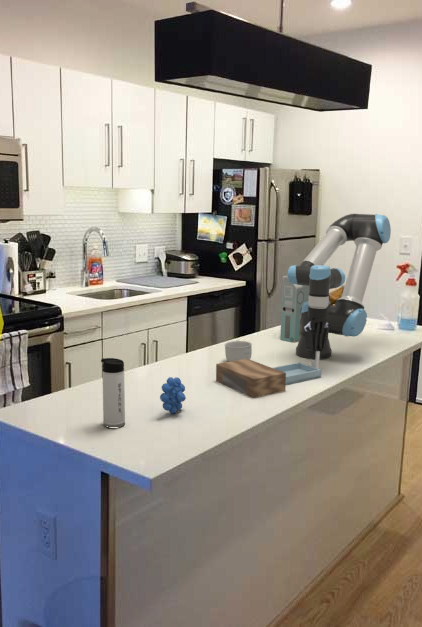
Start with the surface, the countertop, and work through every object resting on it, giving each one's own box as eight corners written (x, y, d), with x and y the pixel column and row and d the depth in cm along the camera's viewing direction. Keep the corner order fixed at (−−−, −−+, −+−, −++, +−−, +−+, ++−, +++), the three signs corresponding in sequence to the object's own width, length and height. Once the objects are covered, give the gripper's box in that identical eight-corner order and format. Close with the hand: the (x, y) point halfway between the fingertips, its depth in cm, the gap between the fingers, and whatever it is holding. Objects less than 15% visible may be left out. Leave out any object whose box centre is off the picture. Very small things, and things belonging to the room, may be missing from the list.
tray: (299, 369, 242) (299, 362, 242) (321, 377, 233) (321, 369, 232) (259, 377, 231) (259, 369, 231) (280, 386, 221) (280, 378, 221)
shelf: (246, 375, 234) (246, 358, 233) (285, 390, 216) (285, 373, 215) (216, 381, 226) (216, 363, 225) (253, 398, 208) (254, 379, 207)
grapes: (172, 421, 186) (172, 383, 184) (155, 417, 190) (154, 379, 187) (195, 410, 195) (195, 374, 193) (177, 406, 199) (178, 370, 197)
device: (294, 342, 285) (296, 277, 280) (280, 340, 290) (282, 276, 284) (312, 336, 298) (315, 274, 292) (299, 334, 303) (301, 273, 297)
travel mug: (103, 421, 186) (101, 356, 182) (125, 420, 186) (124, 356, 182) (101, 428, 180) (99, 362, 176) (124, 428, 180) (123, 361, 176)
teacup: (249, 367, 245) (249, 347, 243) (222, 365, 247) (222, 345, 246) (253, 358, 258) (254, 339, 257) (228, 356, 261) (228, 337, 259)
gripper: (323, 303, 241) (320, 362, 245) (298, 306, 233) (295, 367, 238) (337, 306, 235) (334, 367, 239) (312, 309, 227) (309, 372, 232)
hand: (314, 367), depth 238 cm, fingers closed
